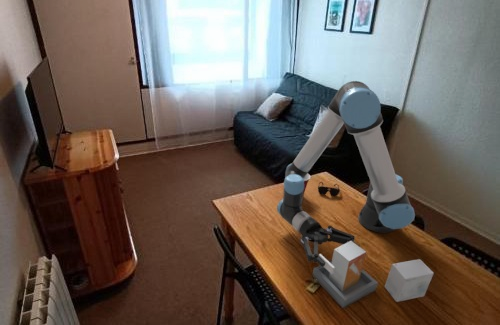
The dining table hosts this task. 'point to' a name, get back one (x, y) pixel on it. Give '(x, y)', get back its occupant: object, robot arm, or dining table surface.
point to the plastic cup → (306, 181)
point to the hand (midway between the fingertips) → (349, 263)
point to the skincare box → (408, 280)
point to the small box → (347, 265)
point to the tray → (351, 293)
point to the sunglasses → (324, 190)
